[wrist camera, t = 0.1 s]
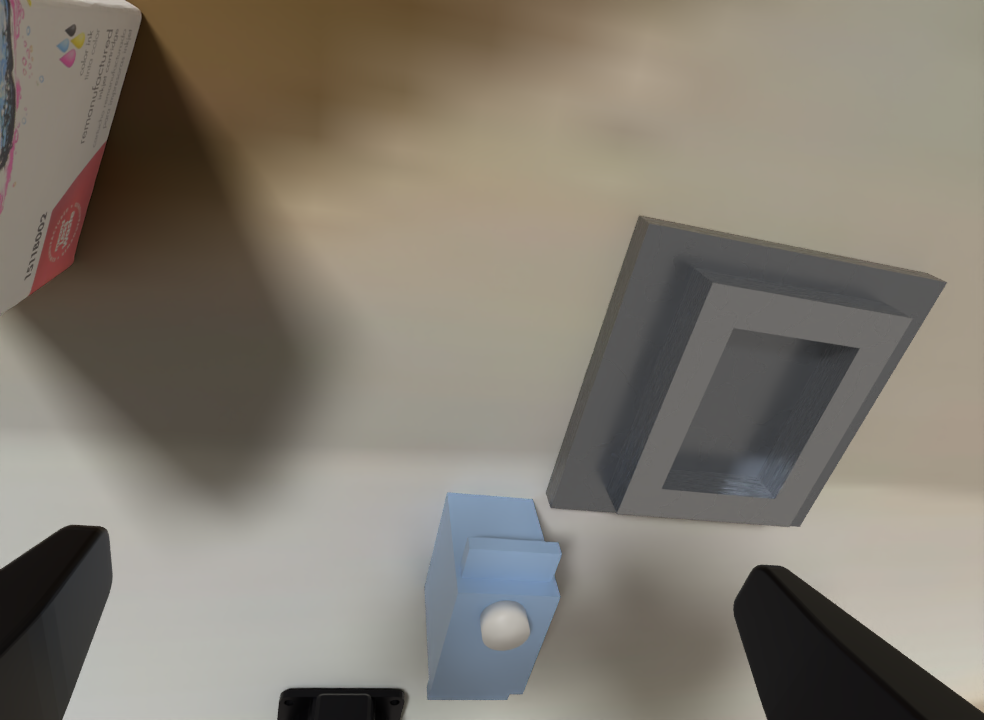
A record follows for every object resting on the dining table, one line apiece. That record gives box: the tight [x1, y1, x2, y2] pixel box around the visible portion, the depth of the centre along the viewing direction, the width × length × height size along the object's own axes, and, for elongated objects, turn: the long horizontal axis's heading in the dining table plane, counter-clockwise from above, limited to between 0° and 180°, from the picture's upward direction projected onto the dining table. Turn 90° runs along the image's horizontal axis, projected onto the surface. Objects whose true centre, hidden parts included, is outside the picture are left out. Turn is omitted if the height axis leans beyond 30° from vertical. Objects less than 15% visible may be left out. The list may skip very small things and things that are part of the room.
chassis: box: [546, 216, 947, 527], centre depth 25 cm, size 13×13×2 cm
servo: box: [425, 493, 562, 700], centre depth 26 cm, size 9×4×6 cm, turn 167°
